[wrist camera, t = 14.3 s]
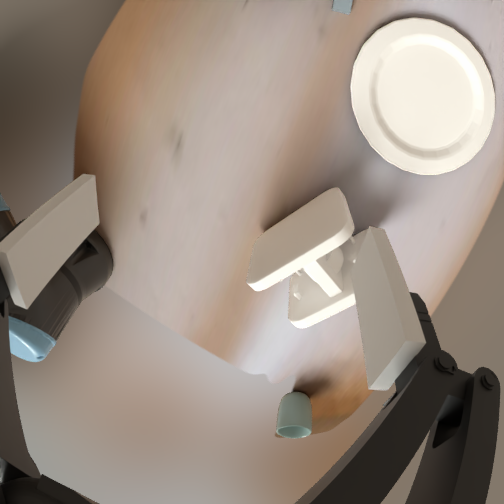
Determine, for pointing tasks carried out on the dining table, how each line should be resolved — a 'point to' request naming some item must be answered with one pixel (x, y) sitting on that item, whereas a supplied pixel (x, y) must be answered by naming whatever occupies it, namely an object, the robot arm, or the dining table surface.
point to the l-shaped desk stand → (342, 6)
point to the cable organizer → (310, 258)
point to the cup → (294, 416)
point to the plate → (422, 96)
